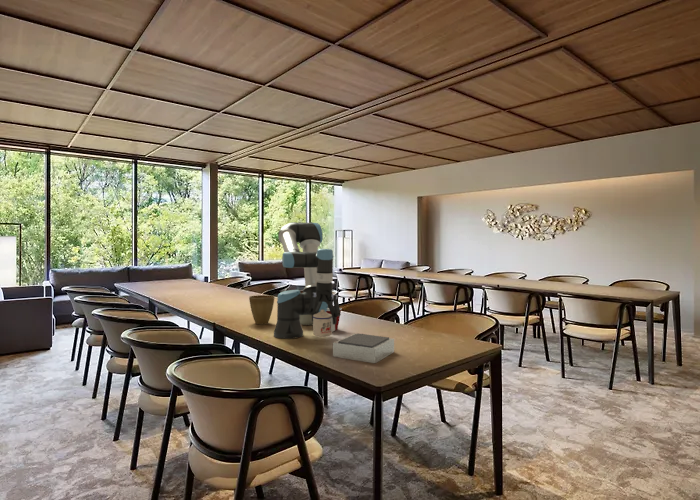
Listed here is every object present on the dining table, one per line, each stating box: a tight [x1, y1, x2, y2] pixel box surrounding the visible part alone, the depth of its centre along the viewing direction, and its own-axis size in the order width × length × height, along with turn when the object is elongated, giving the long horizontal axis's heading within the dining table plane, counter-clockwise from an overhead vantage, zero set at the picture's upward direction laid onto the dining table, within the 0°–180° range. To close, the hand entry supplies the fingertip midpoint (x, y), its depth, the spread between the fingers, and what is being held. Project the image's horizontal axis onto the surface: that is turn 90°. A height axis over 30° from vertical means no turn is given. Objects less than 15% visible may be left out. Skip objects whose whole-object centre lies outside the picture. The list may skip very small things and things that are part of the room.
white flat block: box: [332, 332, 395, 364], centre depth 189 cm, size 20×25×7 cm
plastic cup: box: [326, 307, 343, 331], centre depth 236 cm, size 11×11×12 cm
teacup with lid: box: [312, 310, 333, 338], centre depth 199 cm, size 12×9×12 cm
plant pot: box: [248, 294, 275, 325], centre depth 252 cm, size 15×15×16 cm
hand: (323, 329), depth 199 cm, fingers closed on teacup with lid, 9 cm apart
